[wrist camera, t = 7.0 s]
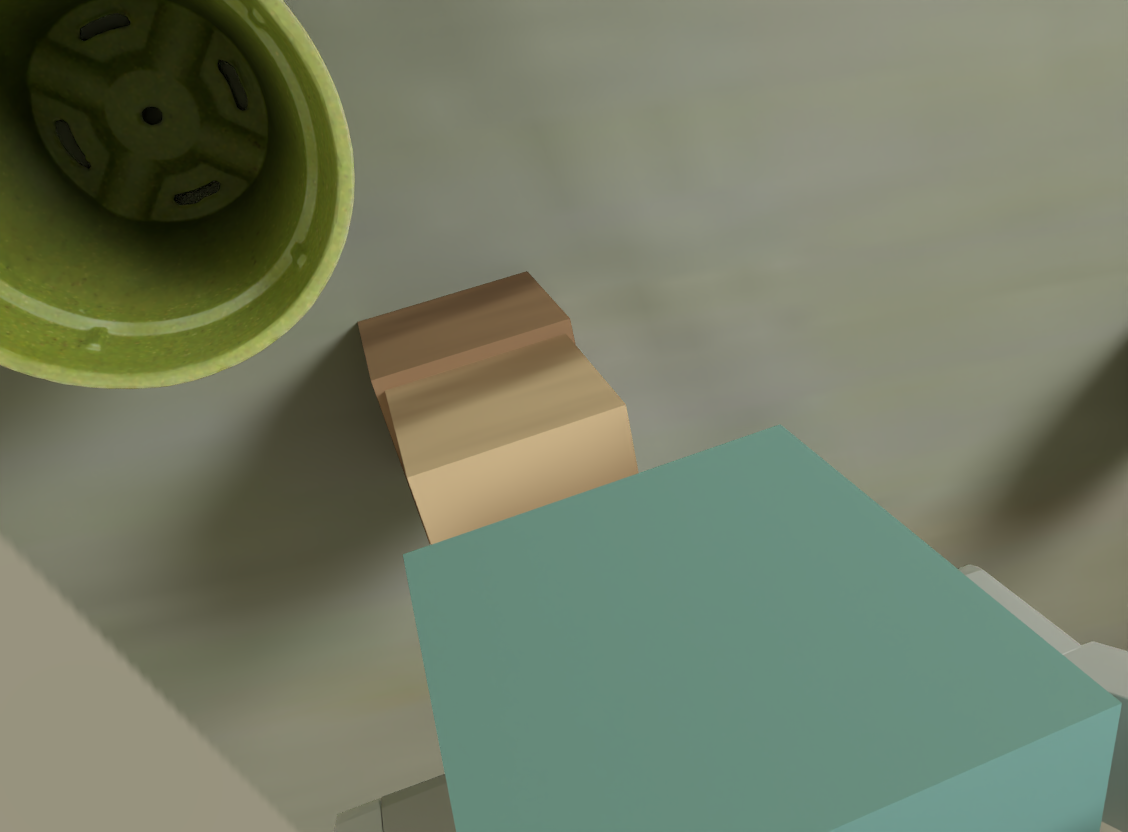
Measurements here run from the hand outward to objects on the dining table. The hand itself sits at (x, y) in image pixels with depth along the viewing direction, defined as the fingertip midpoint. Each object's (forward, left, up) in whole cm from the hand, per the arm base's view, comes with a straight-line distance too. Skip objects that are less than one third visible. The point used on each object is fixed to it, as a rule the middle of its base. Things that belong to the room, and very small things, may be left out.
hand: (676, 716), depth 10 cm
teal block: (0, 0, -2) cm, 2 cm away
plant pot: (-6, -6, -20) cm, 22 cm away
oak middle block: (+4, 0, -15) cm, 16 cm away
